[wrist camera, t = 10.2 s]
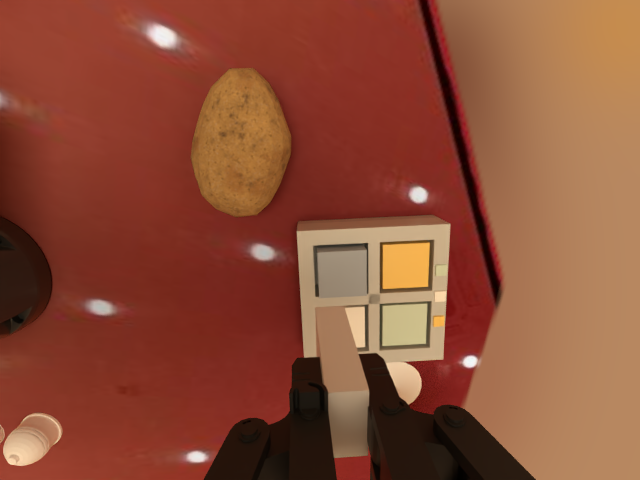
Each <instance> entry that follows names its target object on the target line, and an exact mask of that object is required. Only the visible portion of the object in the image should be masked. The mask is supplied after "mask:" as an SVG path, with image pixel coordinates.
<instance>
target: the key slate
mask: <svg viewBox="0 0 640 480" xmlns="http://www.w3.org/2000/svg"><path fill="white" fill-rule="evenodd" d="M317 266H318V289H319V298H335V297H354V296H367V250H366V248H365V247H364V245H363V243H361V244H340V245H320V246H317Z"/></svg>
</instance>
